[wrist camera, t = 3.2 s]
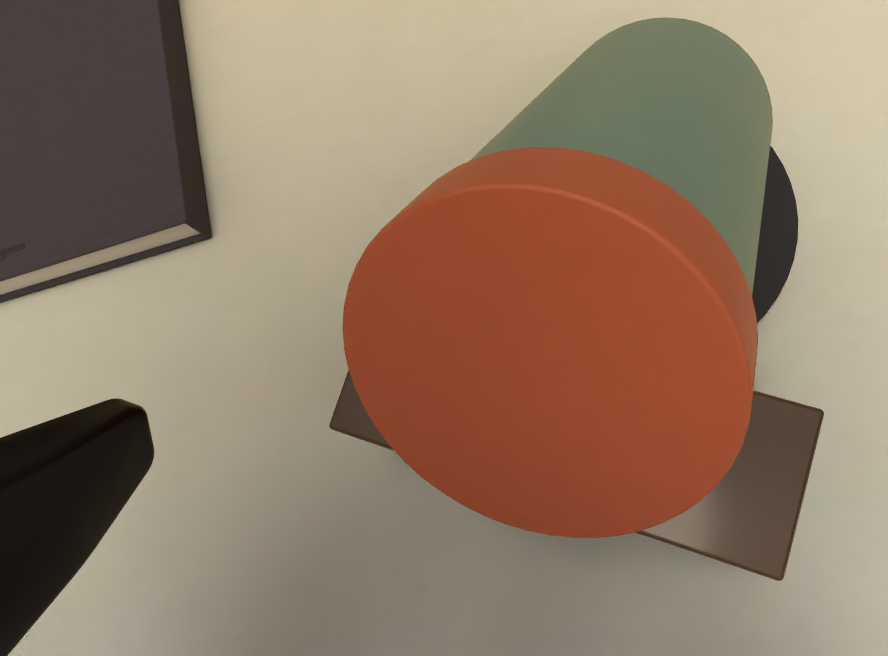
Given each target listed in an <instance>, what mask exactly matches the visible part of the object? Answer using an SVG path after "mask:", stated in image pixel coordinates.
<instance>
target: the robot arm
mask: <svg viewBox="0 0 888 656" xmlns="http://www.w3.org/2000/svg"><path fill="white" fill-rule="evenodd" d="M153 458H154V446H153V442H152V437H151V432H150V427H149V422H148V417H147V414H146V411H145V410H144V409H143V408H142V407H141V406H139V405H136V404H133V403H131V402H128V401H125V400H122V399H110V400H107V401H104V402H101V403H98V404H95V405H92V406H90V407H87V408H84V409H81V410H78V411H75V412H72V413H70V414H67V415H64V416H61V417H58V418H55V419H53V420H50V421H47V422H44V423H41V424H38V425H36V426H33V427H30V428H27V429H24V430H21V431H18V432H16V433H13V434H10V435H7V436H4V437H1V438H0V656H8V654H9V653H10V652H11V651H12V650H13V648H14V647H15V646H16V645H17V644H18V642H19V641H20V640H21V639H22V638H23V636H24V635H25V634H26V633H27V632H28V630H29V629H30V628H31V627H32V626H33V624H34V623H35V622H36V621H37V620H38V619H39V617H40V616H41V615H42V614H43V613H44V611H45V610H46V609H47V608H48V607H49V605H50V604H51V603H52V602H53V601H54V599H55V598H56V597H57V596H58V595H59V593H60V592H61V591H62V590H63V589H64V587H65V586H66V585H67V584H68V583H69V581H70V580H71V579H72V578H73V577H74V575H75V574H76V573H77V572H78V570H79V569H80V568H81V567H82V565H83V564H84V563H85V561H86V560H87V559H88V557H89V556H90V555H91V553H92V552H93V550H94V549H95V548H96V546H97V545H98V543H99V542H100V540H101V539H102V537H103V536H104V535H105V533H106V532H107V530H108V529H109V527H110V526H111V524H112V523H113V521H114V520H115V519H116V517H117V516H118V514H119V513H120V511H121V510H122V508H123V507H124V505H125V504H126V503H127V501H128V500H129V498H130V497H131V495H132V494H133V492H134V491H135V489H136V488H137V486H138V485H139V484H140V482H141V481H142V479H143V478H144V476H145V475H146V473H147V472H148V470H149V469H150V467H151V464H152V462H153Z"/></svg>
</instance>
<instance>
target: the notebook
mask: <svg viewBox="0 0 888 656" xmlns="http://www.w3.org/2000/svg"><path fill="white" fill-rule="evenodd" d="M210 237H211V235H210V228H209V221H208V213H207V206H206V199H205V192H204V185H203V178H202V171H201V164H200V156H199V149H198V142H197V135H196V128H195V121H194V114H193V106H192V99H191V92H190V85H189V78H188V71H187V64H186V56H185V49H184V42H183V35H182V28H181V21H180V14H179V6H178V0H0V302H3V301H6V300H9V299H13V298H16V297H19V296H23V295H26V294H29V293H32V292H36V291H39V290H42V289H45V288H49V287H52V286H55V285H58V284H62V283H65V282H68V281H71V280H75V279H78V278H81V277H84V276H88V275H91V274H94V273H97V272H101V271H104V270H107V269H110V268H114V267H117V266H120V265H123V264H127V263H130V262H133V261H136V260H140V259H143V258H146V257H149V256H153V255H156V254H159V253H162V252H166V251H169V250H172V249H175V248H179V247H182V246H185V245H188V244H192V243H195V242H198V241H201V240H205V239H208V238H210Z"/></svg>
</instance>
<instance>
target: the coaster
mask: <svg viewBox="0 0 888 656" xmlns="http://www.w3.org/2000/svg"><path fill="white" fill-rule="evenodd" d="M797 238H798V216H797V207H796V200H795V196H794V193H793V189H792V185H791V182H790V180H789V177H788V175H787V173H786V171H785V168H784V166H783V164H782V163H781V161H780V159H779V158H778V156H777V155H776V153H775V151H774V150H773V148H772V147H771V146H770V151H769V159H768V168H767V176H766V184H765V193H764V201H763V209H762V218H761V226H760V234H759V243H758V251H757V260H756V268H755V276H754V285H753V293H752V299H753V304H754V308H755V313H756V317H757V323H758V322H759V321H760V320H761V319H762V317H763V316H764V315H765V314H766V313H767V311H768V310H769V308H770V307H771V306H772V304H773V303H774V301H775V300H776V298H777V297H778V295H779V294H780V292H781V290H782V288H783V286H784V284H785V282H786V280H787V278H788V275H789V272H790V269H791V266H792V263H793V260H794V256H795V250H796V245H797Z"/></svg>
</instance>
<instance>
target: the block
mask: <svg viewBox="0 0 888 656" xmlns="http://www.w3.org/2000/svg"><path fill="white" fill-rule="evenodd" d="M823 416H824V412H823V411H822V410H821V409H818V408H815V407H811V406H807V405H804V404H800V403H796V402H793V401H789V400H785V399H782V398H778V397H775V396H771V395H767V394H764V393H760V392H756V391H753V397H752V406H751V415H750V422H749V426H748V429H747V432H746V436H745V439H744V443H743V445H742V447H741V449H740V451H739V453H738V455H737V457H736V459H735V461H734V463H733V465H732V466H731V468H730V469H729V470H728V472H727V473H726V475H725V476H724V477H723V479H722V480H721V481H720V483H719V484H718V485H717V486H716V487H715V488H714V489H712V490H711V491H710V492H709V493H708V494H707V495H706V496H705V497H704V498H703V499H702V500H701V501H700V502H698V503H697V504H695V505H694V506H692V507H691V508H690V509H688V510H687V511H685V512H684V513H682V514H680V515H678V516H676V517H674V518H672V519H670V520H668V521H666V522H664V523H662V524H659V525H656V526H653V527H651V528H648V529H645V530H642V531H637V532H636V533H639V534H642V535H645V536H648V537H651V538H654V539H657V540H659V541H662V542H665V543H668V544H671V545H674V546H677V547H680V548H683V549H686V550H689V551H692V552H695V553H698V554H701V555H704V556H707V557H710V558H713V559H716V560H718V561H721V562H724V563H727V564H730V565H733V566H736V567H739V568H742V569H745V570H748V571H751V572H754V573H757V574H760V575H763V576H766V577H769V578H772V579H775V580H778V581H781V580H782V579H783V578H784V575H785V571H786V567H787V563H788V559H789V554H790V550H791V546H792V542H793V538H794V534H795V530H796V526H797V522H798V518H799V514H800V510H801V506H802V502H803V498H804V494H805V489H806V485H807V481H808V477H809V473H810V469H811V465H812V461H813V457H814V453H815V449H816V445H817V441H818V437H819V433H820V429H821V424H822V420H823ZM329 427H330V428H331V429H332V430H335V431H338V432H341V433H344V434H347V435H350V436H353V437H355V438H358V439H361V440H364V441H367V442H370V443H373V444H376V445H379V446H382V447H385V448H388V449H391V450H394V449H393V448H392V447H391V446H390V445H389V444H388V442H387V441H386V440H385V438H384V437H383V436H382V434H381V433H380V432H379V431H378V429H377V428H376V426H375V425H374V423H373V421H372V420H371V418H370V417H369V415H368V413H367V412H366V410H365V408H364V406H363V404H362V402H361V400H360V398H359V396H358V394H357V391H356V389H355V386H354V383H353V381H352V378H351V375H350V372H349V371H348V373H347V376H346V379H345V382H344V385H343V388H342V391H341V393H340V396H339V399H338V402H337V405H336V408H335V411H334V413H333V416H332V419H331V422H330V426H329ZM394 451H395V450H394Z"/></svg>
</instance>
